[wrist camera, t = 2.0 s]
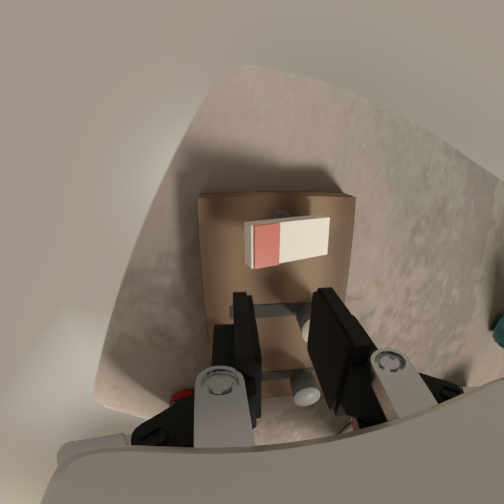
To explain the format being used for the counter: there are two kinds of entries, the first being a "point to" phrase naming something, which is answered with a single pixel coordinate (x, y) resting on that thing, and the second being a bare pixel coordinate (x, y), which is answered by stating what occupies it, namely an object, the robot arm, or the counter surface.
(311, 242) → the block
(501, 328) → the beverage bottle
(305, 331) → the lever ivory
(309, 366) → the console
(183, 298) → the counter surface
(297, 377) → the lever grey
